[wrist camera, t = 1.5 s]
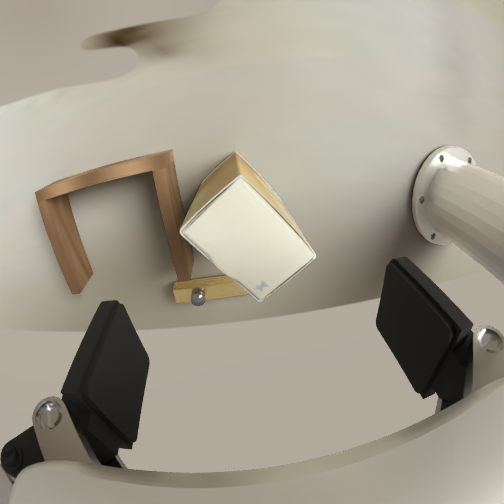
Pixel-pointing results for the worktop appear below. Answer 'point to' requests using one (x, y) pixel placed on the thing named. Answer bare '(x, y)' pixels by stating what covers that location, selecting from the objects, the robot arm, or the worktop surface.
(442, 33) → the worktop surface
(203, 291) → the bar
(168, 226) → the cradle
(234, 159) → the skincare box
